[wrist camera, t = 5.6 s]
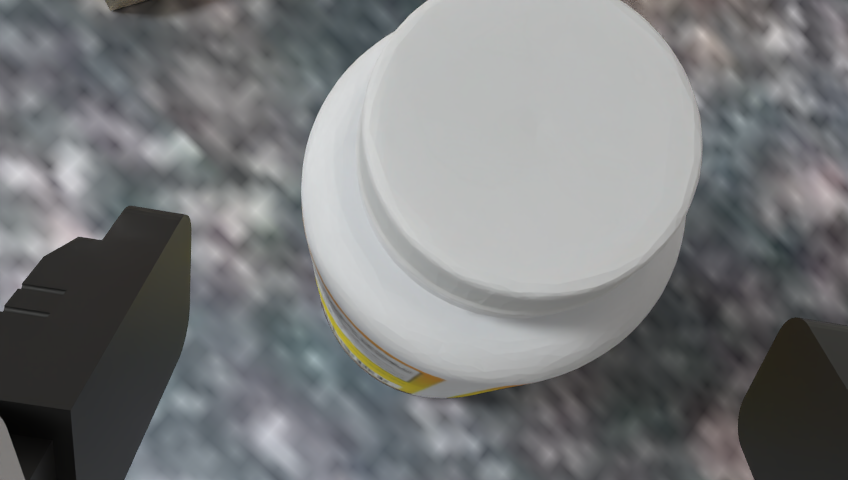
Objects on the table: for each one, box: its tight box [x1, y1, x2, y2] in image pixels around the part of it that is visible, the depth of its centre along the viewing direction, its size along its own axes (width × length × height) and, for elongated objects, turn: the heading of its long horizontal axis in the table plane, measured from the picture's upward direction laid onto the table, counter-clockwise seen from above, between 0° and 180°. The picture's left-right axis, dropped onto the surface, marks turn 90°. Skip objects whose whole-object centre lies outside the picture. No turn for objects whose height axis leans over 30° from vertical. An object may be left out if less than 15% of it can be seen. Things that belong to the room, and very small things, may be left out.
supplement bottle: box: [301, 0, 703, 398], centre depth 14 cm, size 6×6×10 cm
